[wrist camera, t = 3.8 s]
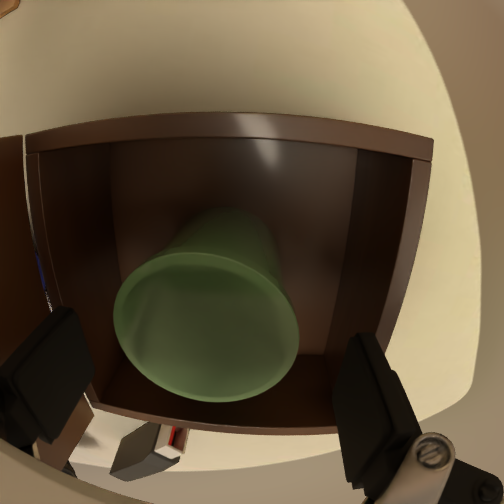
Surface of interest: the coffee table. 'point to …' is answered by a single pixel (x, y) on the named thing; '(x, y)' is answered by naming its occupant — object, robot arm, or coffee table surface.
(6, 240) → the chest lid
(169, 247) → the pot
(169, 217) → the chest
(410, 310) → the coffee table surface
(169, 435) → the usb drive
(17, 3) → the coaster
